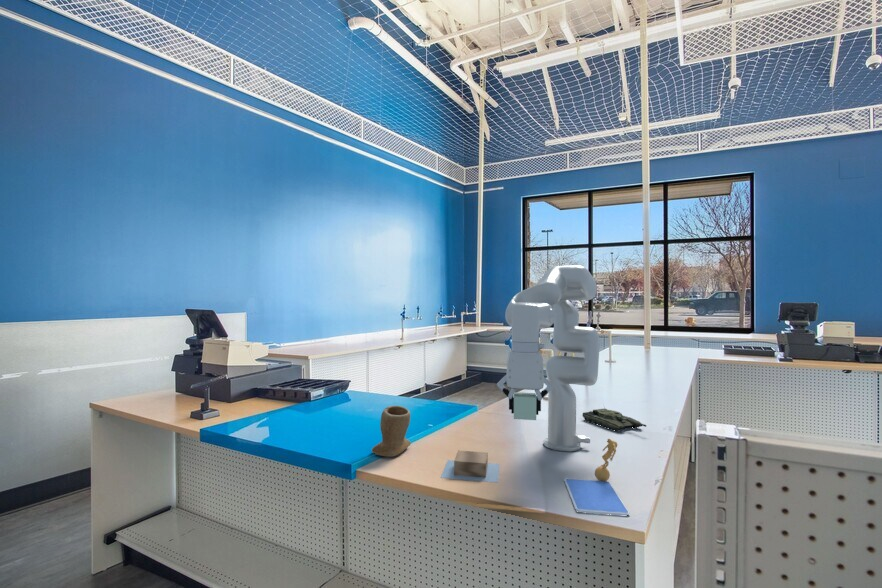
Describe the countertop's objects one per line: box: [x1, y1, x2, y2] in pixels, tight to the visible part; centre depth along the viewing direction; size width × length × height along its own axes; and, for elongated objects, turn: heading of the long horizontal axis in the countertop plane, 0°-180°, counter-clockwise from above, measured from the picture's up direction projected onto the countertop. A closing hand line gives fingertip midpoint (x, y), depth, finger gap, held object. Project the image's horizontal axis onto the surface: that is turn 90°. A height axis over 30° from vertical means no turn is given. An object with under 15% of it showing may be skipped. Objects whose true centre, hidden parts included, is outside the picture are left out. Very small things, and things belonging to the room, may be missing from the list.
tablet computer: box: [564, 478, 631, 516], centre depth 112 cm, size 19×13×1 cm, turn 173°
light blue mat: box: [440, 459, 500, 484], centre depth 126 cm, size 16×14×1 cm
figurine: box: [594, 438, 618, 482], centre depth 122 cm, size 8×6×12 cm
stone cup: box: [371, 405, 412, 458], centre depth 144 cm, size 15×12×15 cm
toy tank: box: [582, 405, 647, 432], centre depth 177 cm, size 14×28×10 cm, turn 23°
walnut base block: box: [453, 449, 489, 478], centre depth 126 cm, size 9×9×4 cm
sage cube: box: [513, 391, 537, 421], centre depth 119 cm, size 6×6×6 cm
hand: (524, 412), depth 119 cm, fingers closed on sage cube, 6 cm apart
